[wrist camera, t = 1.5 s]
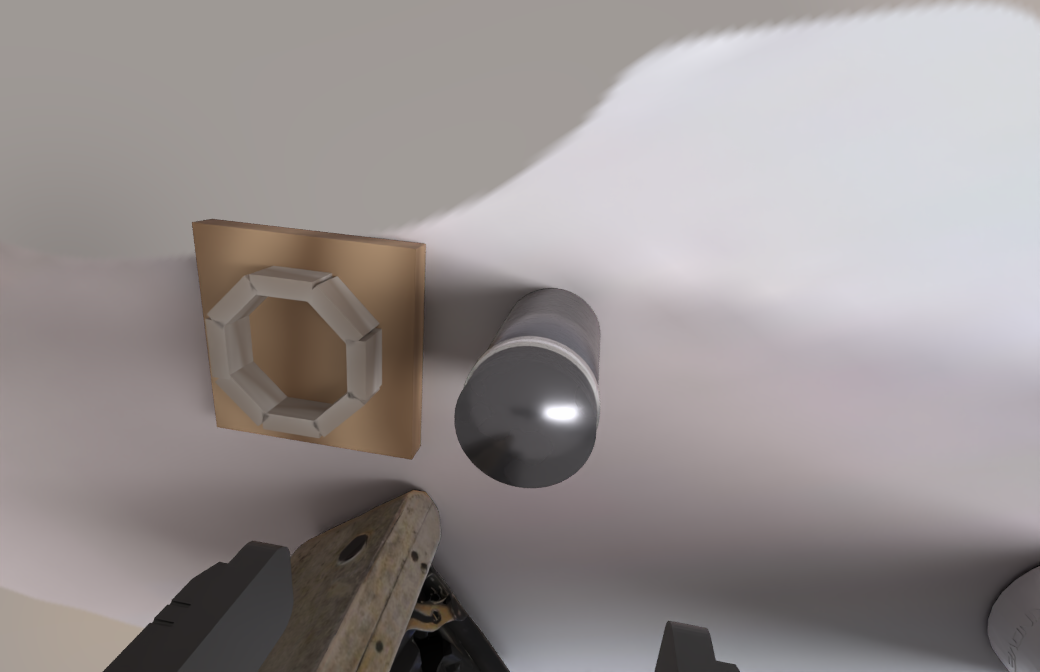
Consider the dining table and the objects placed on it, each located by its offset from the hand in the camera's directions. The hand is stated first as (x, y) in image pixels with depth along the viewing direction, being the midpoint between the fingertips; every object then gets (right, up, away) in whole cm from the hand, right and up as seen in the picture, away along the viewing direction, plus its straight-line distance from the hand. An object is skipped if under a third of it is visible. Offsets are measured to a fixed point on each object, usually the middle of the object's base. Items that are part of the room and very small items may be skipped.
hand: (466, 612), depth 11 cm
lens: (+3, +6, +17) cm, 18 cm away
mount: (-10, +6, +19) cm, 22 cm away
